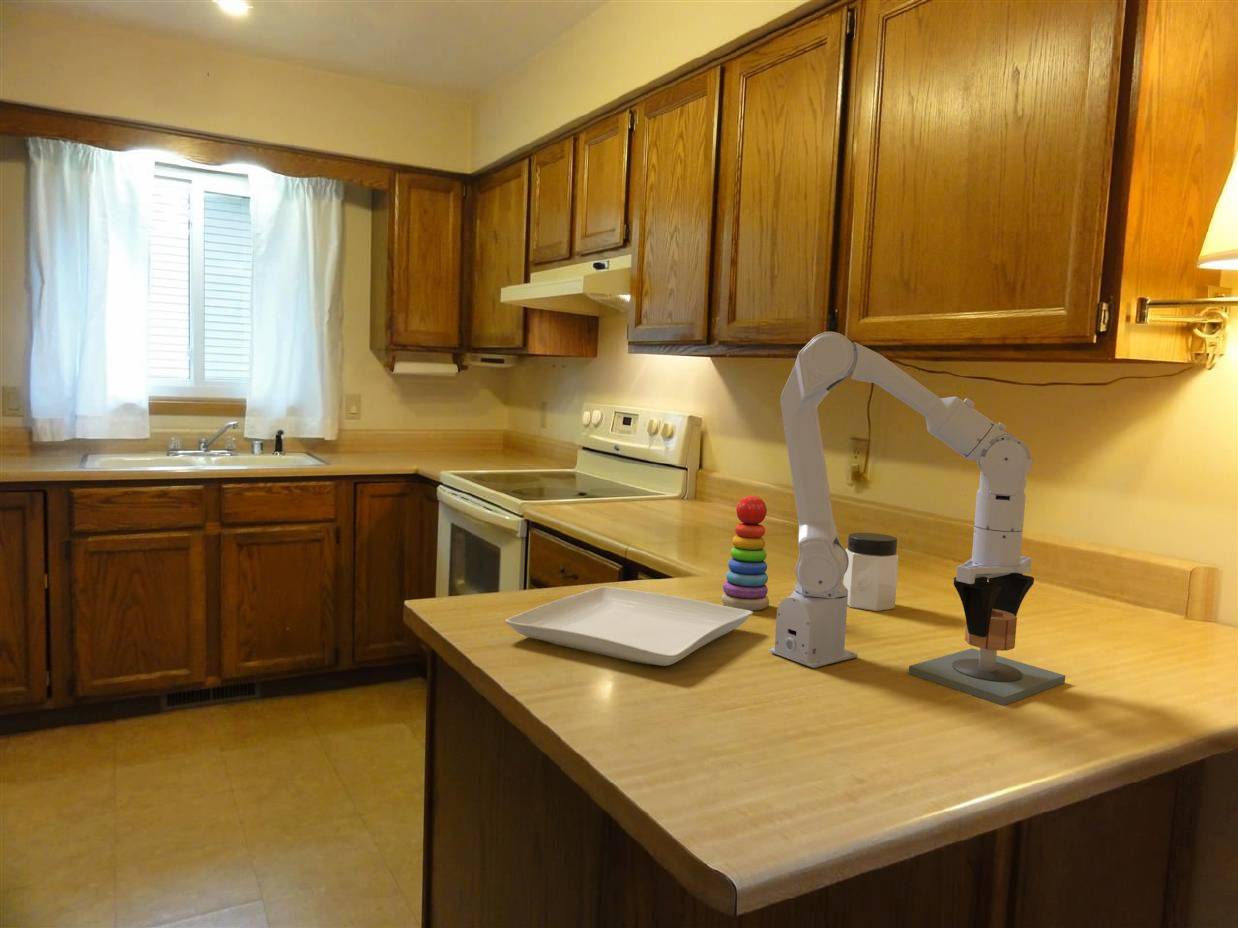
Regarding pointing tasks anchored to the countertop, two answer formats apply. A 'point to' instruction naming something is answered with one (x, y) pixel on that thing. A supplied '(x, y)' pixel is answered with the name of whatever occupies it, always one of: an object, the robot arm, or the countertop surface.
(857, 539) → the jar
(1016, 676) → the post board
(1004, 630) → the collar
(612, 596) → the square plate
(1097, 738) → the countertop surface
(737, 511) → the stacking toy
